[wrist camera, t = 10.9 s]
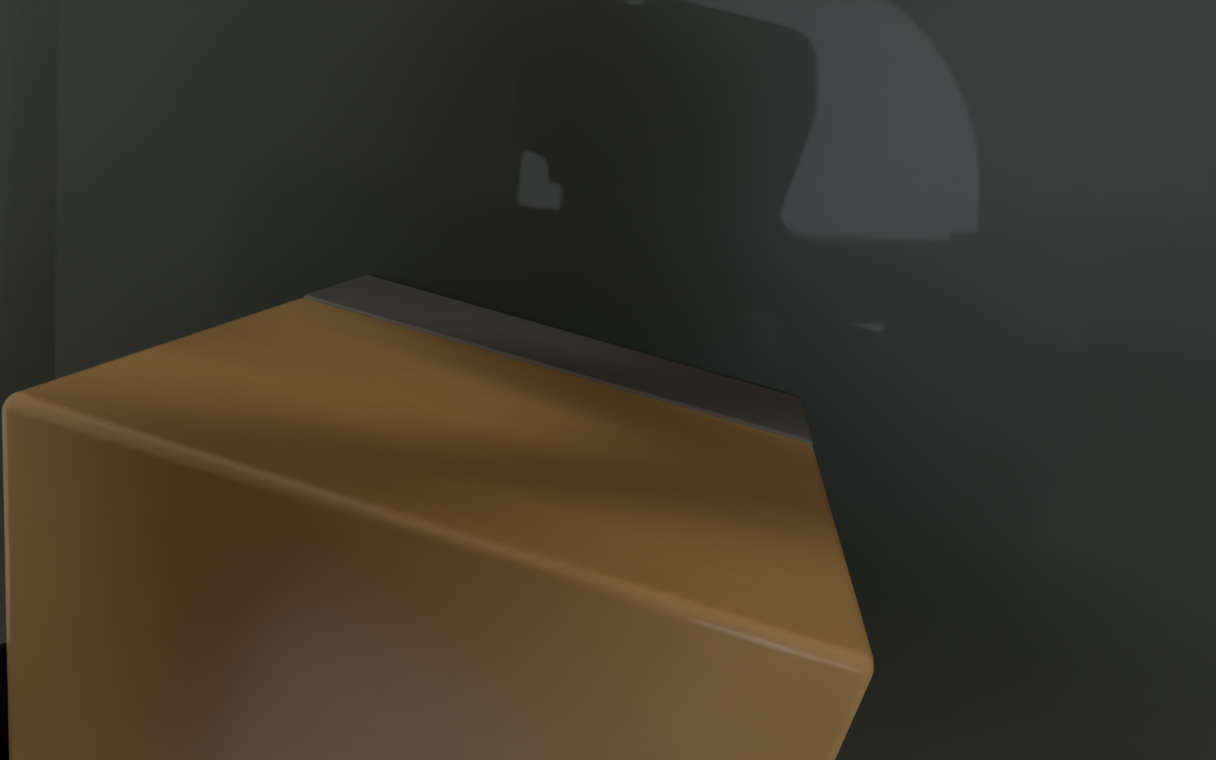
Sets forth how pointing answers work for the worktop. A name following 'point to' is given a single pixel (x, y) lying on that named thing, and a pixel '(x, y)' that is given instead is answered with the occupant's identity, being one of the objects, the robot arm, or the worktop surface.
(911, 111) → the chalkboard
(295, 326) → the wooden block
